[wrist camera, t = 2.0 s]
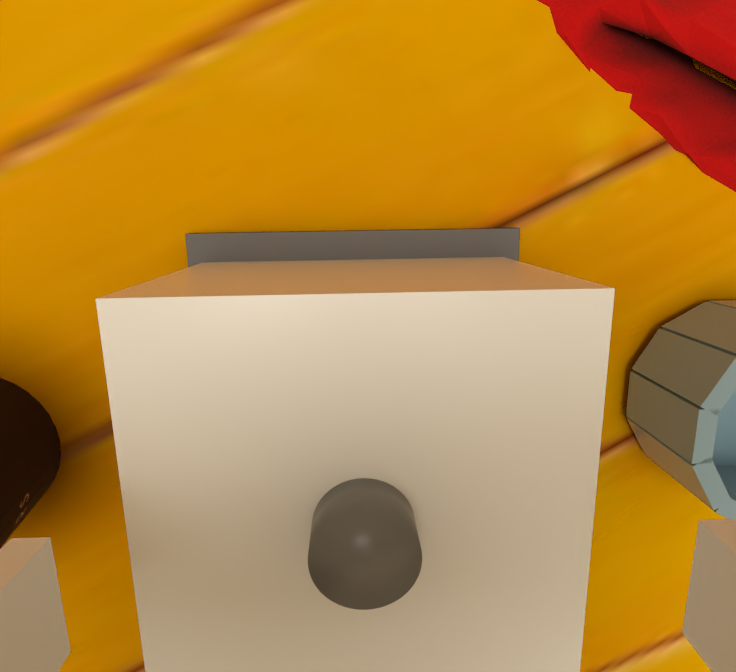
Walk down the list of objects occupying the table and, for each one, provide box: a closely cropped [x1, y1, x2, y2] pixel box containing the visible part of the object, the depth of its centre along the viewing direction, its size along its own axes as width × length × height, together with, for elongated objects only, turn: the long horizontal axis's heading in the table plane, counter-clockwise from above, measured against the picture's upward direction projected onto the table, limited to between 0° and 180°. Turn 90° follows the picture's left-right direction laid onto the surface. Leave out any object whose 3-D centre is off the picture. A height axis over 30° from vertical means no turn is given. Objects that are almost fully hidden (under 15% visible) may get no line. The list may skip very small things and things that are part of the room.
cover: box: [96, 257, 615, 672], centre depth 17 cm, size 12×12×10 cm
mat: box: [185, 228, 520, 267], centre depth 22 cm, size 14×13×1 cm
